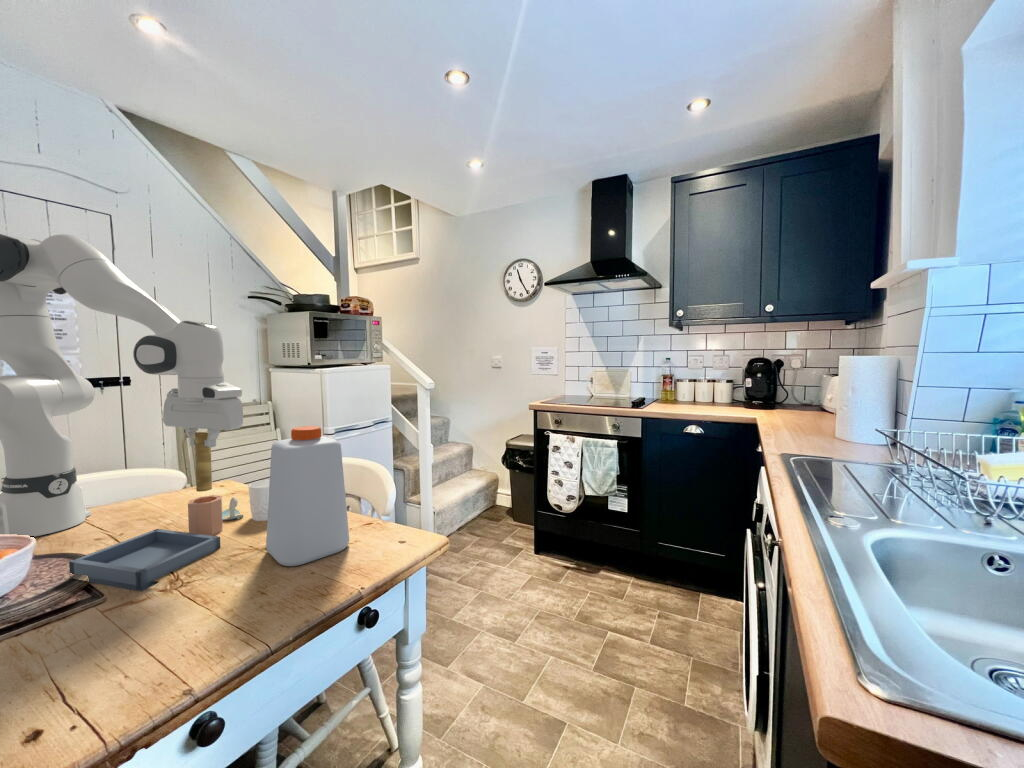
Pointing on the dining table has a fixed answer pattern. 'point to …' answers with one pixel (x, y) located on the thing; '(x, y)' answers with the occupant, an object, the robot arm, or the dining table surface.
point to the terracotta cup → (205, 515)
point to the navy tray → (143, 558)
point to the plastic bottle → (306, 498)
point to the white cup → (259, 499)
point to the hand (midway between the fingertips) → (203, 446)
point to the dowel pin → (203, 463)
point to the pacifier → (231, 510)
